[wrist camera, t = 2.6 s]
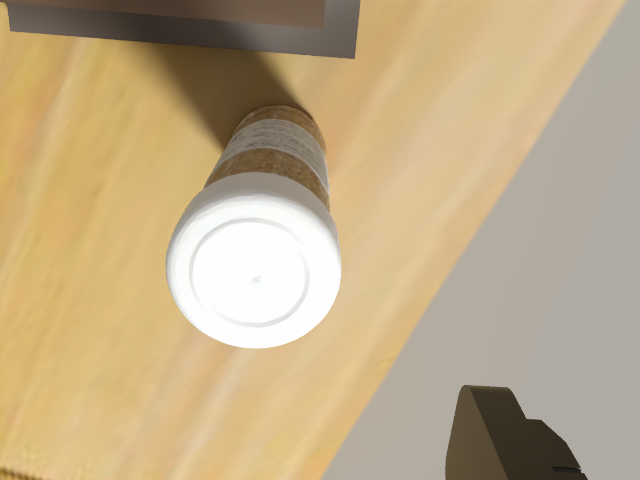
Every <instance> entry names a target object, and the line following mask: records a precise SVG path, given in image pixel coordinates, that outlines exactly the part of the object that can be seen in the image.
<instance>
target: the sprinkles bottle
mask: <svg viewBox="0 0 640 480" xmlns="http://www.w3.org/2000/svg"><path fill="white" fill-rule="evenodd" d="M329 194H330V188H329V179H328V170H327V163H326V147H325V141H324V138H323V136H322V134H321V132H320V130H319V128H318V126H317V124H316V123H315V122H314V121H313V120H311V119H310V118H309V117H308V116H307V115H306V114H304V113H303V112H301V111H299V110H298V109H295V108H292V107H289V106H285V105H270V106H265V107H261V108H259V109H257V110H255V111H253V112H251V113H249V114H248V115H247V116H246V117H245V118H244V119H243V120H242V121H241V122H240V123H239V124H238V126H237V128H236V129H235V130H234V132H233V135H232V137H231V140H230V142H229V143H228V145H227V146H226V148H225V150H224V151H223V153H222V155H221V157H220V159H219V160H218V162H217V164H216V166H215V168H214V169H213V171H212V173H211V174H210V176H209V178H208V180H207V182H206V184H205V186H204V189H203V190H202V191H201V192H199V193H198V194H197V195H196V196H195V197H194V198H193V200H192V201H191V202H190V204H189V205H188V206H187V208H186V209H185V211H184V213H183V214H182V216H181V218H180V220H179V222H178V224H177V226H176V228H175V230H174V232H173V234H172V237H171V240H170V242H169V245H168V250H167V254H166V277H167V282H168V286H169V289H170V292H171V295H172V297H173V299H174V301H175V303H176V305H177V306H178V308H179V309H180V311H181V312H182V313H183V315H184V316H185V317H186V318H187V319H188V320H189V321H190V322H191V323H192V324H193V325H194V326H195V327H196V328H198V329H199V330H200V331H202V332H203V333H205V334H207V335H208V336H210V337H212V338H214V339H216V340H218V341H221V342H223V343H226V344H229V345H233V346H238V347H244V348H267V347H273V346H278V345H282V344H285V343H288V342H291V341H293V340H295V339H297V338H299V337H301V336H303V335H304V334H306V333H307V332H309V331H310V330H311V329H312V328H314V327H315V326H316V325H317V324H318V323H319V322H320V321H321V320H322V319H323V318H324V317H325V315H326V314H327V312H328V311H329V309H330V308H331V306H332V304H333V302H334V300H335V298H336V295H337V293H338V290H339V286H340V280H341V253H340V245H339V238H338V233H337V229H336V226H335V223H334V221H333V219H332V216H331V214H330V210H329Z"/></svg>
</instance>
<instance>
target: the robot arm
mask: <svg viewBox="0 0 640 480" xmlns="http://www.w3.org/2000/svg"><path fill="white" fill-rule="evenodd" d="M445 471H446V472H445V473H446V480H588V479H587V477H586V476H585V474H584V473H581V467H580V466H579V464H578V462H577V461H576V459H575V457H574V455H573V454H572V452H571V450H570V448H569V447H568V445H567V443H566V442H565V441H564V440H563V439H562V438H561V437H559V436H558V435H557V434H556V433H555V432H554V431H553V430H552V429H550V428H549V427H548V426H547V425H546V424H545V423H544V422H543V421H542V420H535V419H526V417H525V415H524V413H523V411H522V410H521V407H520V406H519V404H518V402H517V400H516V398H515V396H514V394H513V392H512V391H511V390H510V389H509V388H507V387H490V386H472V385H471V386H470V385H464V386H463V387H462V388H461V390H460V393H459V396H458V401H457V406H456V411H455V416H454V421H453V426H452V431H451V436H450V441H449V445H448V450H447V456H446V467H445Z"/></svg>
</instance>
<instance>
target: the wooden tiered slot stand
mask: <svg viewBox="0 0 640 480" xmlns="http://www.w3.org/2000/svg"><path fill="white" fill-rule="evenodd" d="M0 2H5V3H7V7H8V15H9V24H10V31H15V32H28V33H40V34H53V35H65V36H77V37H90V38H102V39H114V40H127V41H139V42H151V43H164V44H176V45H189V46H201V47H213V48H226V49H238V50H250V51H263V52H275V53H288V54H300V55H312V56H325V57H337V58H349V59H355V50H356V39H357V29H358V19H359V8H360V0H0Z"/></svg>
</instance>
